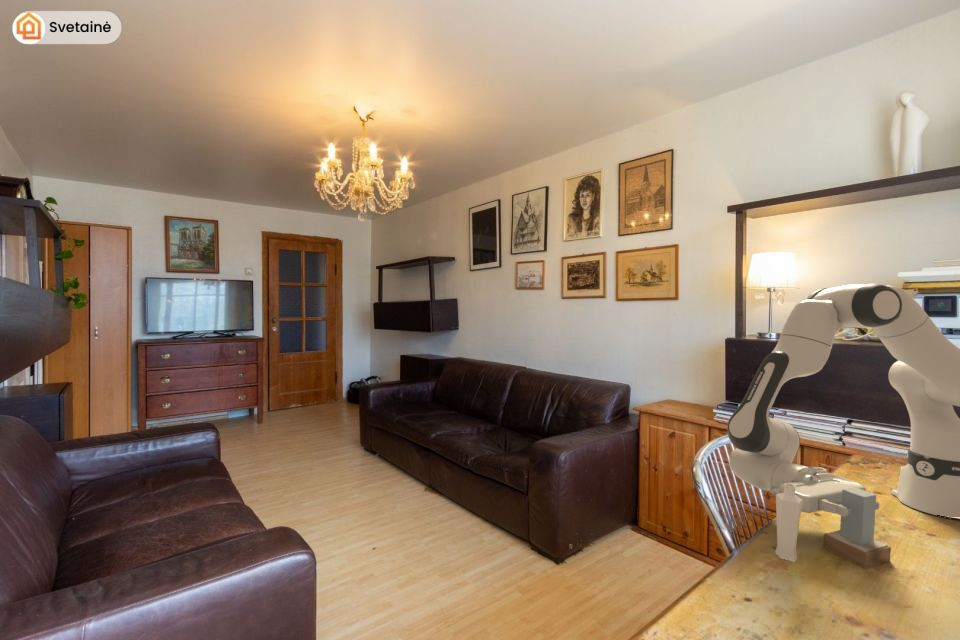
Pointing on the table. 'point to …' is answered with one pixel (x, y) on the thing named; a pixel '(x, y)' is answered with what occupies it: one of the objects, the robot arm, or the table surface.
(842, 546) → the plinth
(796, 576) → the table surface
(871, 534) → the grey tall block
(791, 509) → the perfume bottle
